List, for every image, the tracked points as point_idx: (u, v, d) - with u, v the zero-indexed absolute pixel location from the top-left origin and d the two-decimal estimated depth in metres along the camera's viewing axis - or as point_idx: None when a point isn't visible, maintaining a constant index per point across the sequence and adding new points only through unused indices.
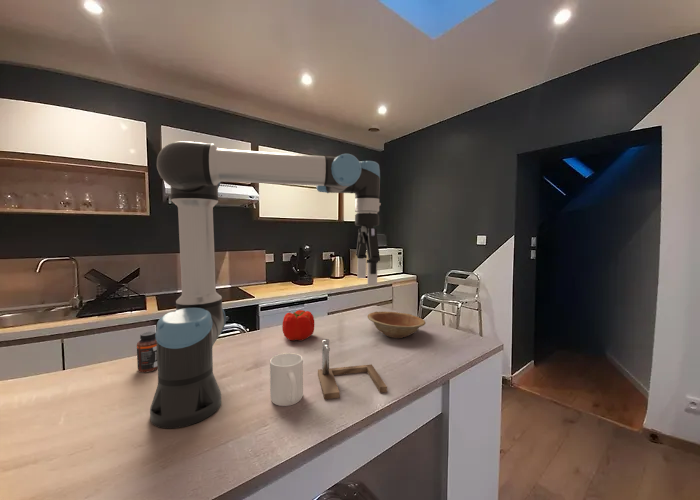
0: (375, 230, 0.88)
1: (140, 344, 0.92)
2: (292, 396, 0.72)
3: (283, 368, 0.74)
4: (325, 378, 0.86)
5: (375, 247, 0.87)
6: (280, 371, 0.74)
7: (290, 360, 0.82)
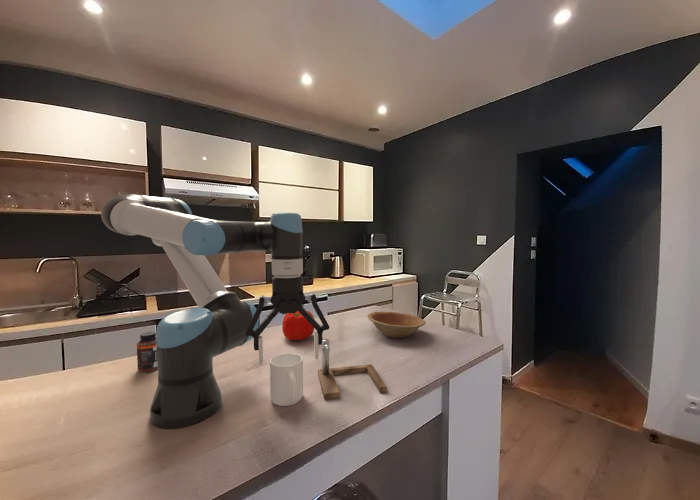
0: (259, 299, 0.73)
1: (140, 344, 0.92)
2: (292, 396, 0.72)
3: (283, 368, 0.74)
4: (325, 378, 0.86)
5: (251, 319, 0.74)
6: (281, 371, 0.74)
7: (290, 360, 0.82)
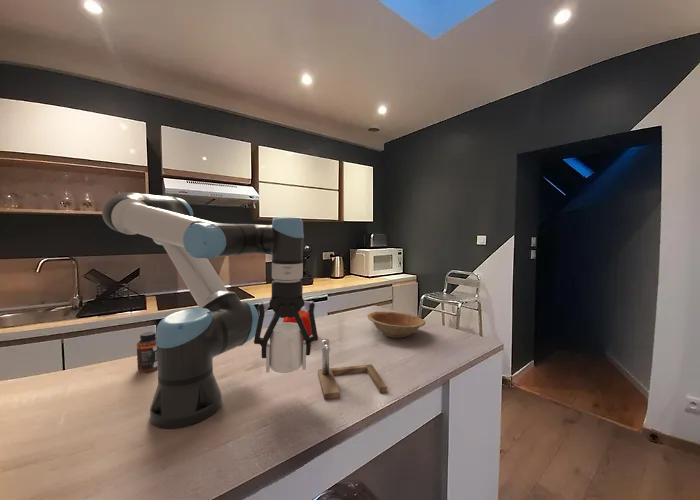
0: None
1: (140, 344, 0.92)
2: (291, 362, 0.72)
3: (282, 334, 0.74)
4: (325, 378, 0.86)
5: (256, 327, 0.74)
6: (280, 338, 0.74)
7: (289, 330, 0.82)
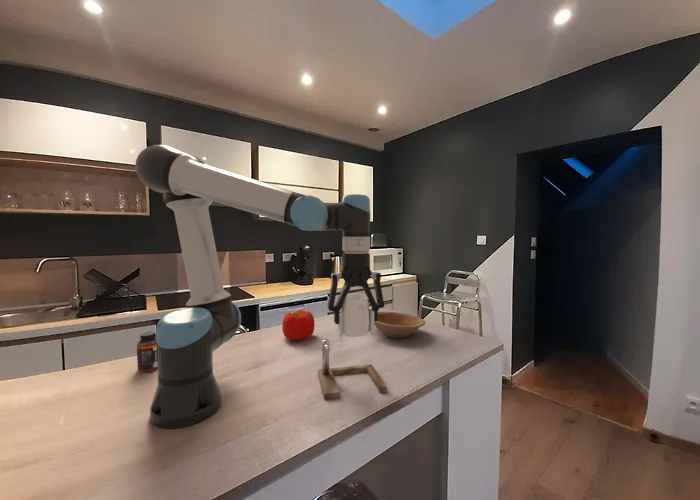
0: (332, 276, 0.81)
1: (140, 344, 0.92)
2: (365, 325, 0.79)
3: (354, 301, 0.81)
4: (325, 378, 0.86)
5: (330, 296, 0.82)
6: (352, 304, 0.81)
7: (354, 300, 0.89)
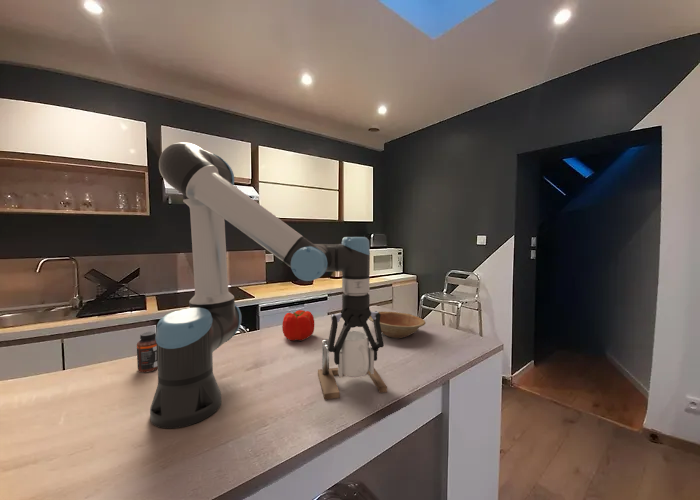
0: (332, 318, 0.82)
1: (140, 344, 0.92)
2: (365, 367, 0.80)
3: (354, 342, 0.82)
4: (325, 378, 0.86)
5: (330, 337, 0.82)
6: (352, 345, 0.82)
7: (354, 337, 0.90)
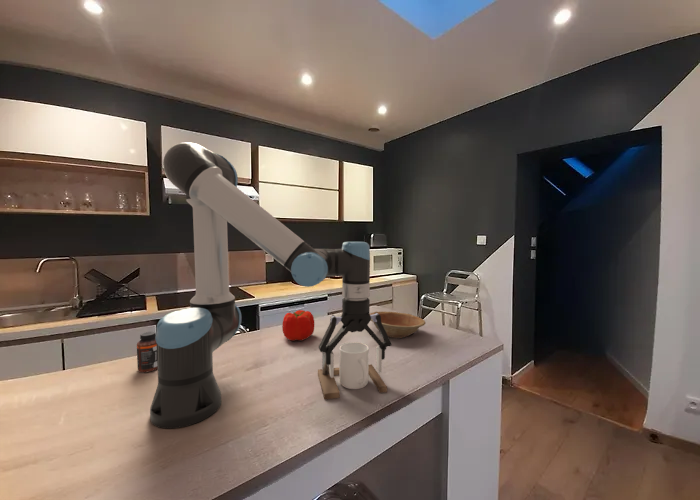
0: (332, 319, 0.82)
1: (140, 344, 0.92)
2: (365, 379, 0.80)
3: (354, 354, 0.82)
4: (325, 378, 0.86)
5: (324, 337, 0.82)
6: (352, 358, 0.82)
7: (354, 349, 0.90)
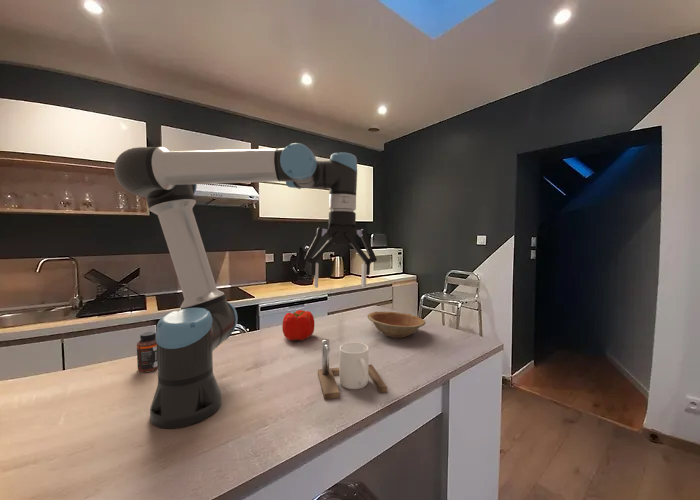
0: (317, 229, 0.83)
1: (140, 344, 0.92)
2: (365, 379, 0.80)
3: (354, 354, 0.82)
4: (325, 378, 0.86)
5: (310, 247, 0.83)
6: (352, 358, 0.82)
7: (354, 349, 0.90)
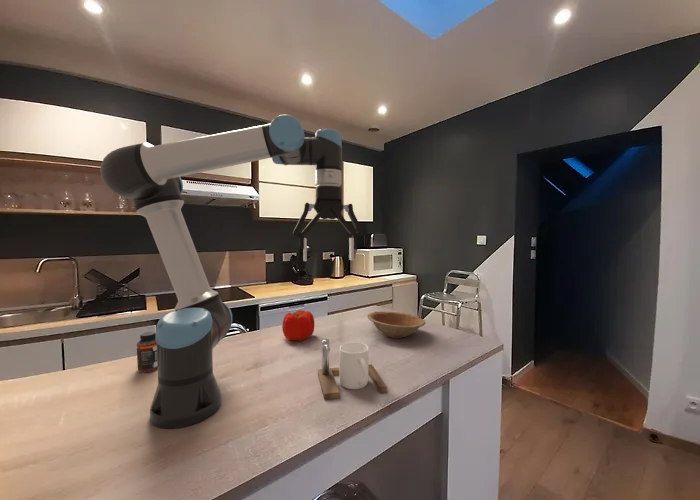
0: (305, 204, 0.85)
1: (140, 344, 0.92)
2: (365, 379, 0.80)
3: (354, 354, 0.82)
4: (325, 378, 0.86)
5: (298, 222, 0.85)
6: (352, 358, 0.82)
7: (354, 349, 0.90)
